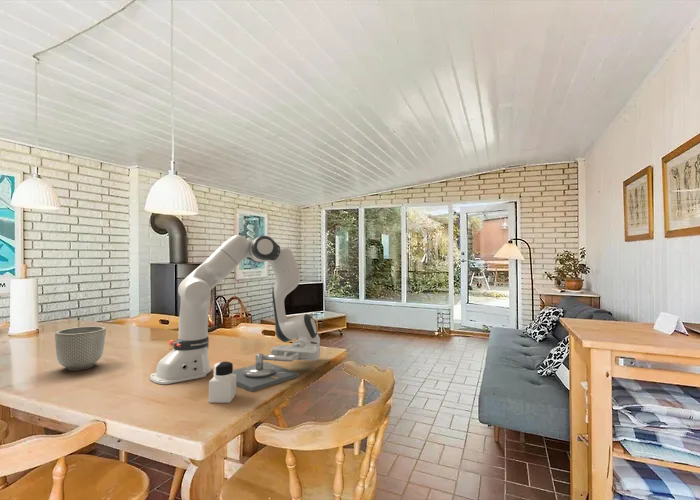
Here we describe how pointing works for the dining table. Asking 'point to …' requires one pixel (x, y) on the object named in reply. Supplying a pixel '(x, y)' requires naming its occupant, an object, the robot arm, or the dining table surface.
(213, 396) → the medicine bottle
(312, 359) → the robot arm
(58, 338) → the planter
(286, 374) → the base plate
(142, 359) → the dining table surface
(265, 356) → the capstan dial
